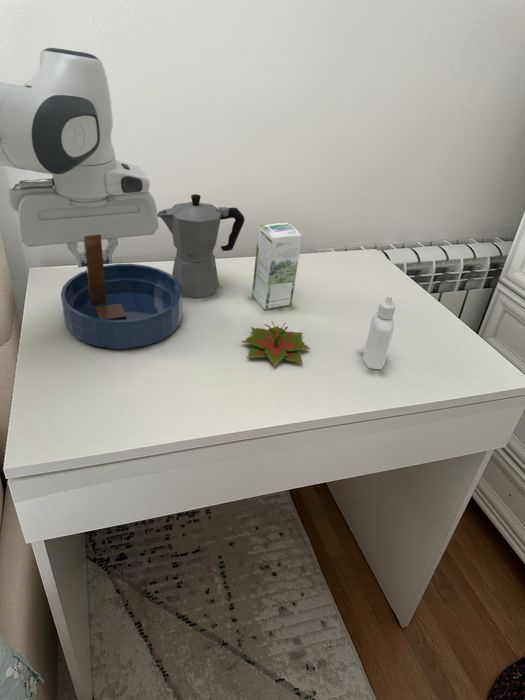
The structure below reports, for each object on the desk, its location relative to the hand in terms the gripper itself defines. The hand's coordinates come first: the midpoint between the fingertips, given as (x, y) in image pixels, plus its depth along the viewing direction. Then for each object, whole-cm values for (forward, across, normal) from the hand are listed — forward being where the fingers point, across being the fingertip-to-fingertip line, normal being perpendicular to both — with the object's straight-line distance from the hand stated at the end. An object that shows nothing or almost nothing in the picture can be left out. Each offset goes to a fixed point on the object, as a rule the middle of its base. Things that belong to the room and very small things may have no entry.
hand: (94, 264), depth 85 cm
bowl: (+10, +4, -1) cm, 11 cm away
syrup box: (+11, +31, -3) cm, 33 cm away
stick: (+8, 0, +2) cm, 8 cm away
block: (+10, +1, -6) cm, 11 cm away
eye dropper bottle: (+10, +39, -25) cm, 47 cm away
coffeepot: (+10, +20, +6) cm, 23 cm away
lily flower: (+10, +25, -17) cm, 32 cm away
